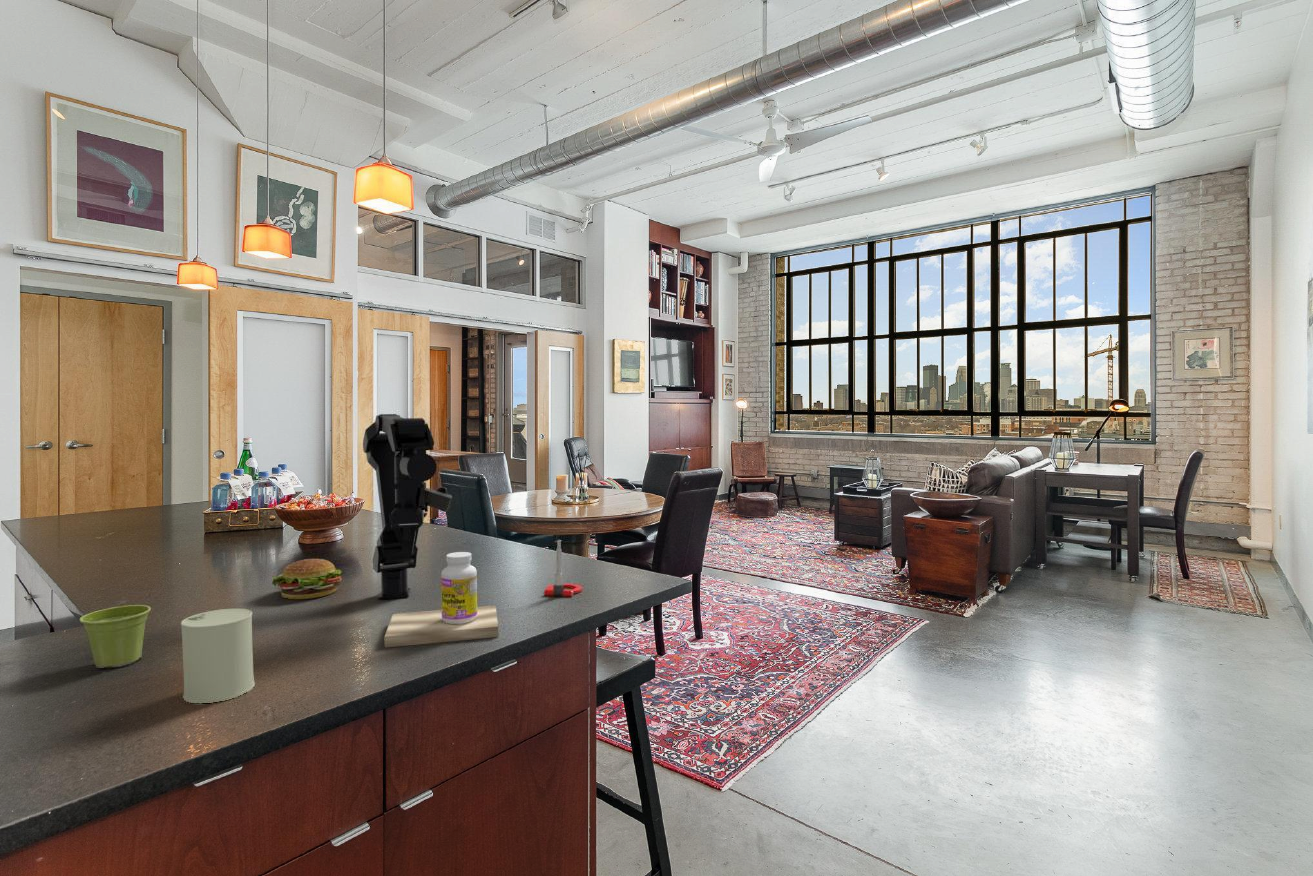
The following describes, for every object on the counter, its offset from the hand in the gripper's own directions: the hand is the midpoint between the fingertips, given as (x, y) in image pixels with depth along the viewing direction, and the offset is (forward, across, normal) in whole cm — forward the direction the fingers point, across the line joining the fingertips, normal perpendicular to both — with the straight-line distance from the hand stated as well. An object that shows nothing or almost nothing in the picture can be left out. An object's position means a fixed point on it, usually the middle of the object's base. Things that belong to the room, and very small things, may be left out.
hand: (411, 551), depth 141 cm
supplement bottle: (+11, -15, -10) cm, 21 cm away
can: (+13, -34, +25) cm, 44 cm away
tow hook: (+13, +7, -33) cm, 36 cm away
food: (+13, +23, +25) cm, 37 cm away
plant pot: (+13, -16, +46) cm, 50 cm away
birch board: (+13, -14, -7) cm, 20 cm away
